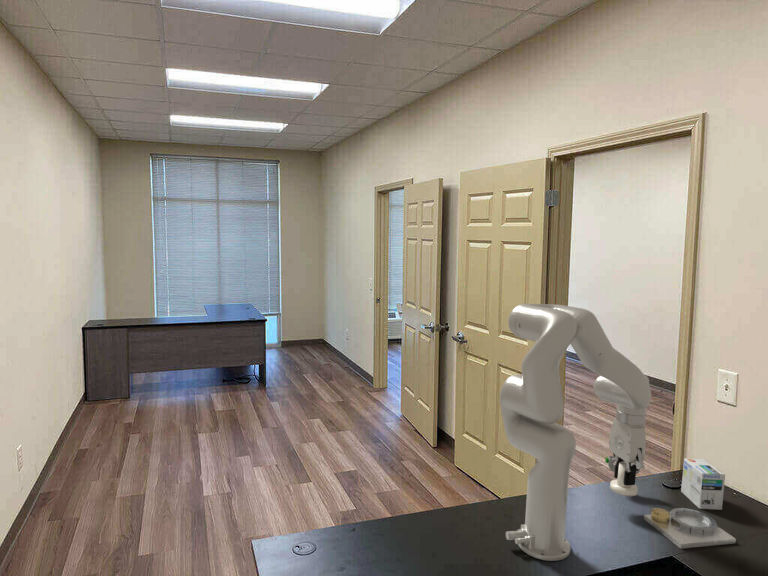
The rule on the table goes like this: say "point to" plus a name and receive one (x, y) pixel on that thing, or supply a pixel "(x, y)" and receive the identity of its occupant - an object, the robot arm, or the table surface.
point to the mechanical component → (611, 463)
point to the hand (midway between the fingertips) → (624, 480)
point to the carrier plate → (688, 527)
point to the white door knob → (619, 485)
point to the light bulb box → (703, 484)
